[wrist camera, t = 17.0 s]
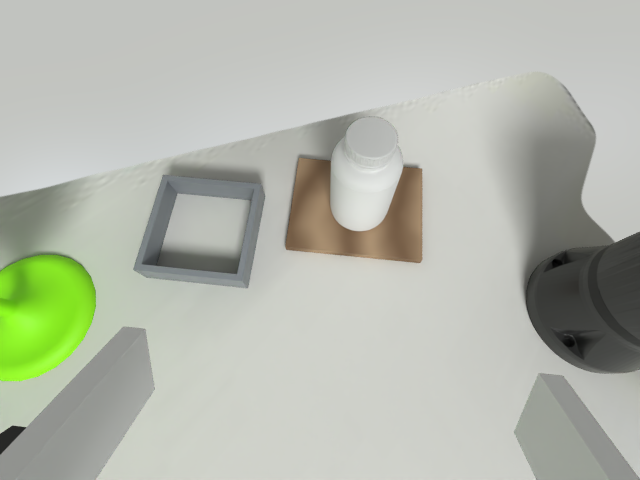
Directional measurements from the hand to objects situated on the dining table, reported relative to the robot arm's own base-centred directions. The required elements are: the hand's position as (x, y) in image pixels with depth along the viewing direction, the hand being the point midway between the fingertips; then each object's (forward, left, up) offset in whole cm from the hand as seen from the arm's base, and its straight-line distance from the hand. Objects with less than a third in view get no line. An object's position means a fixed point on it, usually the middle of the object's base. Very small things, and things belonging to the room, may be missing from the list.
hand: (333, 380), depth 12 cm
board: (-2, -23, -32) cm, 39 cm away
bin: (+18, -17, -32) cm, 40 cm away
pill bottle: (-2, -23, -31) cm, 38 cm away
